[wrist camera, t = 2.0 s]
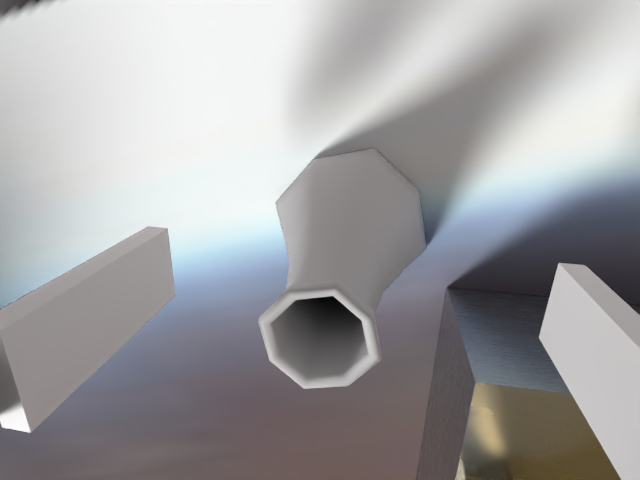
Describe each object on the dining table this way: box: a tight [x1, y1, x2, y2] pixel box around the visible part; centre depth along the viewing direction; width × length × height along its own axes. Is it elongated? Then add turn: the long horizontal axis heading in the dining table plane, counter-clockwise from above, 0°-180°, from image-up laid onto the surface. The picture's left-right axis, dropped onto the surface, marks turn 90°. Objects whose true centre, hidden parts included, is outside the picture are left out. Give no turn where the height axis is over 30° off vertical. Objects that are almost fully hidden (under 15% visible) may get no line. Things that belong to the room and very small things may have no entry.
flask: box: [258, 148, 426, 389], centre depth 15 cm, size 7×7×10 cm
